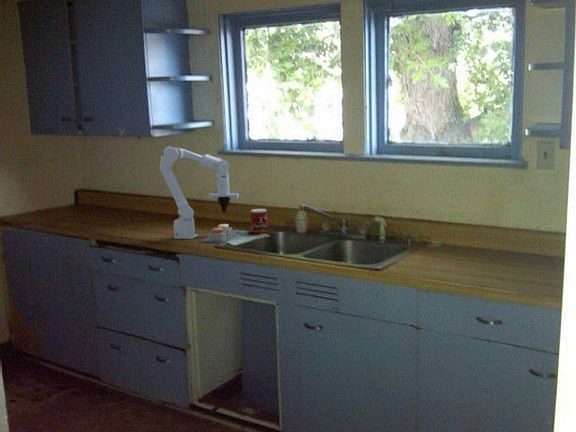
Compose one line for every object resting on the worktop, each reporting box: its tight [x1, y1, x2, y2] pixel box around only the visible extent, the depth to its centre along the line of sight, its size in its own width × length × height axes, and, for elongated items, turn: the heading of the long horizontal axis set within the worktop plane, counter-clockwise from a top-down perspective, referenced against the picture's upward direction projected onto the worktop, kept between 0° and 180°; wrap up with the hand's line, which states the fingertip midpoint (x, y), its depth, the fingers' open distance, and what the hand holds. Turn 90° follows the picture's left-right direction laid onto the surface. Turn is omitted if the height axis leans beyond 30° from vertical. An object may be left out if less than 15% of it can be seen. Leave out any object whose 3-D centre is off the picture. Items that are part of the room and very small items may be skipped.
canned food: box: [250, 208, 268, 234], centre depth 326 cm, size 8×8×11 cm
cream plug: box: [217, 223, 230, 230], centre depth 320 cm, size 5×5×4 cm
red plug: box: [211, 227, 223, 234], centre depth 312 cm, size 5×5×4 cm
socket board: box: [204, 226, 237, 243], centre depth 316 cm, size 10×16×4 cm, turn 166°
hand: (224, 212), depth 326 cm, fingers closed
